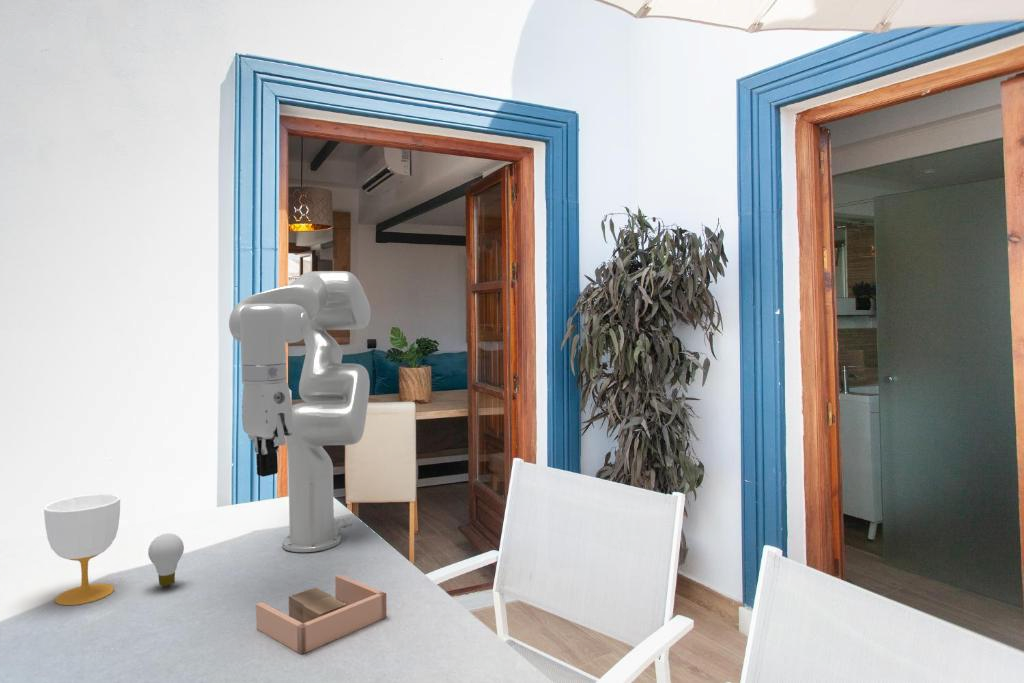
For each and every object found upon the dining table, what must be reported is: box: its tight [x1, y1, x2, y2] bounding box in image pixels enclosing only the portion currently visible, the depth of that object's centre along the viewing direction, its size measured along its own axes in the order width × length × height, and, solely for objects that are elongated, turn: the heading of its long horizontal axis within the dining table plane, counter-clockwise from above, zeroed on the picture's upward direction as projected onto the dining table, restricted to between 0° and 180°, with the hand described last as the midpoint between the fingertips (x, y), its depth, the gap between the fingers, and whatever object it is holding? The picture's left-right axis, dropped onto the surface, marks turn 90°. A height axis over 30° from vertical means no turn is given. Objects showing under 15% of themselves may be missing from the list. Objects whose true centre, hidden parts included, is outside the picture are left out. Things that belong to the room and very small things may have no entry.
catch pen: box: [255, 574, 388, 655], centre depth 107 cm, size 16×13×4 cm
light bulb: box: [147, 533, 185, 589], centre depth 122 cm, size 6×6×10 cm
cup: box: [43, 493, 121, 606], centre depth 119 cm, size 12×12×17 cm
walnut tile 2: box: [303, 595, 348, 623], centre depth 106 cm, size 5×5×4 cm
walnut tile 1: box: [288, 586, 332, 623], centre depth 110 cm, size 5×5×4 cm
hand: (267, 474), depth 118 cm, fingers closed
